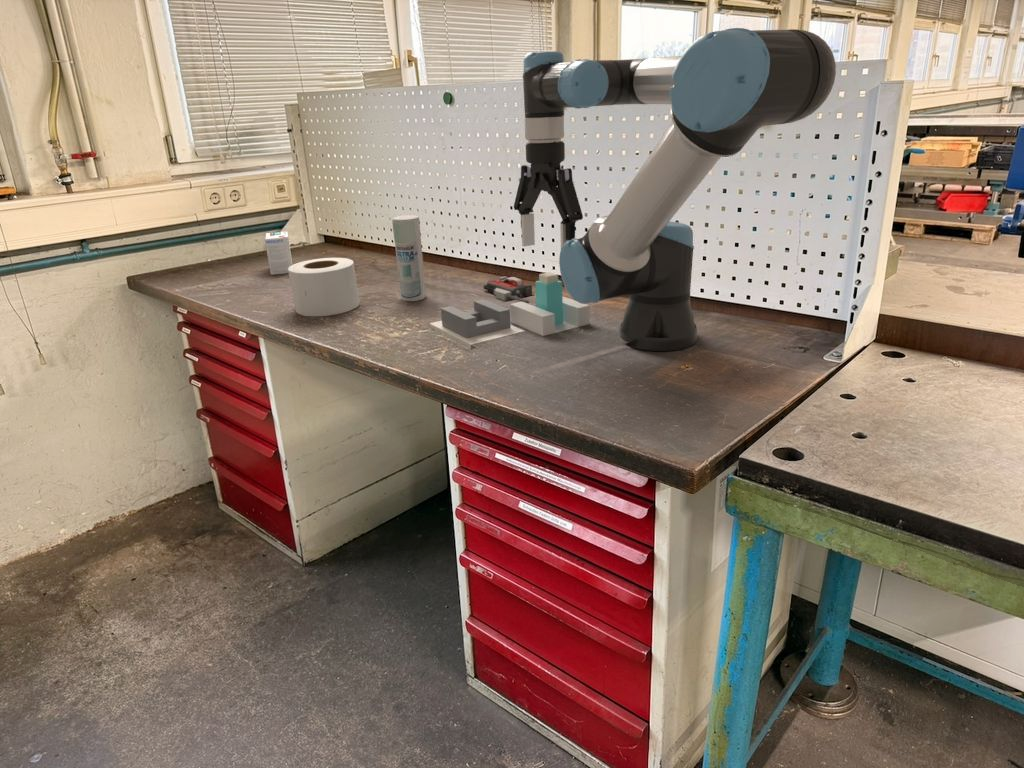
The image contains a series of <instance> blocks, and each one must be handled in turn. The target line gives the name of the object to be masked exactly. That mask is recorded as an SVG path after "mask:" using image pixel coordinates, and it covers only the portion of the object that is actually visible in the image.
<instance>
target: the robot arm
mask: <svg viewBox="0 0 1024 768" xmlns="http://www.w3.org/2000/svg"><path fill="white" fill-rule="evenodd" d="M836 65H837V64H836V59H835V56H834V52H833V51H832V49H831V47H830V46H829V44H828V43H827V42H826V41H825V39H823V38H822V37H821V36H820V35H818V34H816V33H814V32H810V31H808V30H804V29H797V28H796V29H792V28H791V29H757V30H756V29H755V30H751V29H748V28H744V27H743V28H742V27H734V28H733V27H732V28H727V29H724V30H715V31H711V32H708V33H705V34H704V35H701V36H700V37H698V38H697V39H695V40H694V41H693V42H692V43H691V44H689V46H687V48H686V49H685V50H684V52H683V53H682V54H681V55H676V56H675V55H674V56H663V57H661V56H660V57H651V58H633V59H616V60H615V59H601V60H598V59H597V60H596V59H595V60H594V59H593V60H592V59H587V58H585V59H580V58H579V59H575V60H572V61H565V60H564V54H563V52H561V51H554V50H552V51H550V50H548V51H537V52H534V51H533V52H532V51H531V52H528V53H526V54H525V56H524V57H523V72H522V79H523V80H522V81H523V82H522V83H523V84H522V86H523V101H524V102H523V103H524V104H523V105H524V108H523V109H524V138H525V140H526V141H527V142H526V144H525V160H526V163H528V164H523V165H521V167H520V178H519V183H518V187H517V190H516V196H515V200H514V202H513V203H514V204H513V209H514V210H515V211H518V213H519V214H520V228H521V245H522V247H524V248H525V247H529V246H535V245H536V244H535V243H536V240H535V239H536V238H535V213H534V210H533V208H534V207H535V204H536V203H537V200H538V199H539V197H540V194H541V192H542V191H544V192H547V194H548V195H550V196H551V197H552V200H553V202H554V205H555V207H556V209H557V211H558V213H559V214H560V215H559V216H560V218H561V219H562V220H561V221H560V223H559V224H560V251H559V258H558V260H559V262H558V264H559V270H560V277H561V281H562V284H563V285H564V288H565V290H566V291H567V293H568V294H569V296H570V297H571V299H572V300H575V301H578V302H579V303H582V304H592V303H593V304H598V303H600V302H603V301H604V302H605V301H608V300H612V299H616V298H621V297H626V296H628V303H627V306H626V309H625V313H624V314H623V315H624V316H623V320H622V322H621V323H620V326H619V337H620V338H621V339H622V340H624V341H625V342H626V343H624V345H626V346H628V347H631V348H634V349H636V350H637V349H638V350H643V351H651V352H652V351H653V352H668V351H669V352H671V351H678V350H683V349H686V348H689V347H691V346H693V345H694V344H696V342H697V341H698V326H697V324H696V323H695V319H694V313H693V309H692V304H691V286H692V273H693V272H692V271H693V257H694V249H695V246H694V232H693V229H692V227H691V226H690V225H688V224H685V223H683V222H677V221H671V220H672V219H673V218H674V216H675V215H676V214H677V213H678V211H679V210H680V209H681V207H682V206H683V205H684V204H685V203H686V201H687V200H688V199H689V198H690V196H691V195H692V194H693V193H694V191H695V190H696V189H697V188H698V187H699V185H700V183H702V181H703V180H704V179H705V178H706V176H707V175H708V174H709V173H710V171H712V169H713V168H714V166H715V165H716V164H717V163H718V162H719V160H720V159H721V158H727V157H728V158H729V157H733V156H735V155H737V154H738V153H739V152H740V151H741V150H742V149H743V148H744V147H745V146H746V145H747V143H748V142H749V141H750V140H751V139H752V137H753V136H754V135H755V133H756V132H757V131H758V130H759V129H761V128H762V127H765V126H774V125H775V126H777V125H786V124H792V123H795V122H799V121H800V120H802V119H803V120H804V119H805V118H807V117H809V116H811V115H812V114H813V113H815V112H816V111H817V110H818V109H819V108H820V107H822V105H823V104H824V103H825V101H827V98H828V97H829V95H830V94H831V92H832V89H833V87H834V84H835V80H836V76H837V75H836V74H837V71H836V70H837V66H836ZM615 105H616V106H620V105H670V109H669V110H670V117H671V120H672V121H671V122H670V124H669V126H668V127H667V129H666V130H665V132H664V133H663V134H662V136H661V138H660V139H659V141H658V142H657V144H656V145H655V147H653V150H652V151H651V153H650V154H649V155H648V157H647V158H646V159H645V161H644V163H643V164H642V165H641V168H640V169H639V170H638V171H637V173H636V174H635V176H634V177H633V179H632V180H631V182H630V184H629V185H628V187H627V188H626V189H625V191H624V192H623V194H622V195H621V197H619V199H618V201H617V203H616V204H615V205H614V208H612V210H611V211H610V213H609V214H608V215H603V216H601V217H598V218H597V219H596V220H594V221H593V223H592V224H591V225H590V227H589V228H588V230H587V231H586V233H585V234H584V235H583V236H582V237H580V238H576V223H577V222H578V221H582V220H583V213H582V209H581V205H580V201H579V198H578V194H577V191H576V187H575V184H574V180H573V170H572V169H571V168H570V167H569V168H561V163H562V162H564V161H565V159H566V157H565V156H566V154H565V152H566V151H565V149H566V148H565V141H563V140H562V139H564V138H565V117H564V116H565V108H574V109H588V108H591V107H602V106H605V107H606V106H615Z"/></svg>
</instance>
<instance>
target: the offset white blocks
mask: <svg viewBox="0 0 1024 768" xmlns="http://www.w3.org/2000/svg"><path fill="white" fill-rule="evenodd" d="M562 297H563V323H562V324H558V325H555V314H554V313H551V312H548V311H546V310H543V309H540V308H538V307H536V305H532V304H529V303H525V302H522V301H518V302H517V301H516V302H513V303H510V304H509V309H510V324H514V325H517V326H519V327H521V328H523V329H526V330H528V331H531V332H533V333H535V334H538V335H540V336H543V337H545V336H549V335H552V334H556V333H560V332H563V331H567V330H571V329H576V328H580V327H583V326H588V325H590V322H591V321H590V317H591V316H590V314H591V313H590V309H591V308H590V305H589V304H588V303H586V304H582V303H579V302H578V301H575V300H574V299H573V298H569V297H565V296H563V295H562Z"/></svg>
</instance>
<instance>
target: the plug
mask: <svg viewBox="0 0 1024 768" xmlns="http://www.w3.org/2000/svg"><path fill="white" fill-rule="evenodd" d="M538 276H539V277H538V280H536V281H535V307H538V308H540V309H543V310H546V311H548V312H551V313H554V314H555V325H558V324H562V323H563V297H564V296H563V280H559V274H558V273H555V272H551V271H550V272H545V273H540V274H539V275H538ZM562 296H563V297H562Z"/></svg>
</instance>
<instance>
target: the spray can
mask: <svg viewBox="0 0 1024 768" xmlns="http://www.w3.org/2000/svg"><path fill="white" fill-rule="evenodd" d="M391 221H392V222H391V223H392V230H393V238H394V246H395V255H396V263H397V264H396V265H397V275H398V282H399V291H400V298H401V300H402V301H405V302H406V301H407V302H416V301H421V300H424V299H425V298H426V297H427V293H426V282H425V271H424V270H425V269H424V260H423V258H424V257H423V249H422V236H421V227H420V225H421V224H420V216H419V215H412V214H410V215H409V214H407V215H398V216H394V217H392V218H391Z"/></svg>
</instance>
